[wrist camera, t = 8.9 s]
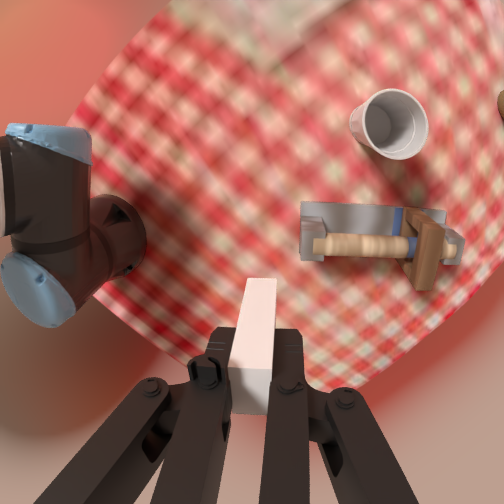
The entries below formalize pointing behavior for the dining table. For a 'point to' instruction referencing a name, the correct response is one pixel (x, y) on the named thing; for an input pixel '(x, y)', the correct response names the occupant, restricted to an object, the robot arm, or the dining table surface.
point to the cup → (391, 124)
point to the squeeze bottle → (501, 103)
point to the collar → (421, 247)
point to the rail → (366, 232)
